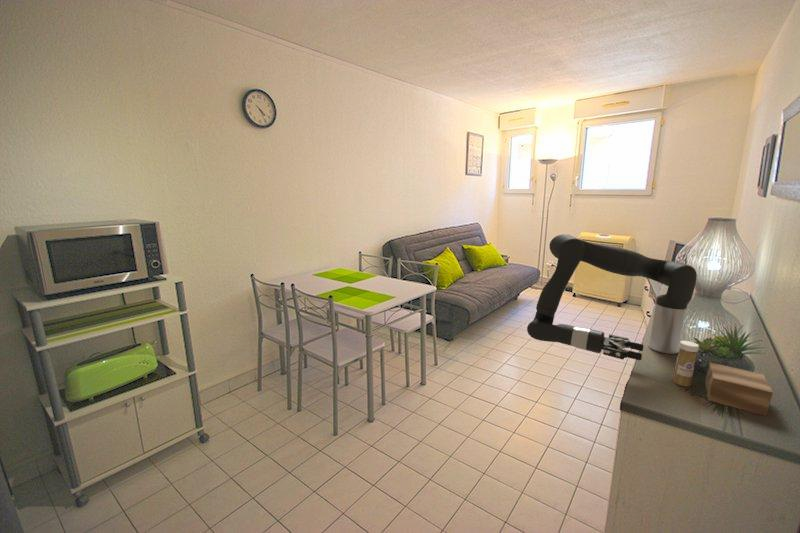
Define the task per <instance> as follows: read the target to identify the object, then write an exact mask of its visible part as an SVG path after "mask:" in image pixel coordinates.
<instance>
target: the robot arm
mask: <svg viewBox="0 0 800 533" xmlns="http://www.w3.org/2000/svg"><path fill="white" fill-rule="evenodd" d="M549 251H550V253H551V254H552V255H553V257H555V258H556V259H557V262H556V263H557V264H556V267H555V270H554V272H553V274H552V275H551V277H550V279H549V280H548V281H547V282H546V283H545V285H544V286H543V288H542V290H541V292H540V295H539V296H538V300H537V303H536V306H535V307H536V308H535V309H536V313H535V315H534V319H533V320H532V321H530V322H529V323H528V325H527V326H526V332H527V334H528V336H530V337H531V338H532V339H534V340H536V341H541V342H548V343H549V342H550V343H560V344H563V345H567V346H571V347H574V348H577V349H580V350H583V351H587V352H591V353H592V352H593V353H594V354H601V353H602V354H603V355H604V356H608V357H612V358H616V359H619V360H625V359H627V358H629V359H633V360H635V361H636V360H637V361H642V356H643V354H642V353H641V352H643V351H644V344H643V343H638V342H633V341H631V340H630V338H628V337H624V336H619V335H614V334H608V337H605V333H604V332H603V331H600V330H595V329H592V328H587V327H580V326H574V325H570V324H569V325H568V324H564V323H559V324H554V320H555V314H556V312H557V310H558V307H559V305H560V301H561V300H562V297H563V294H564V292H565V290H566V288H567V285H568V284H569V282H570V279H571V278H572V276H573V274H574V273H575V271H576V269H577V267H578V266H579V265H580V263H581V262H583V263H586V264H589V265H591V266H593V267H595V268H598V269H601V270H602V271H606V272H609V273H612V274H616V275H620V276H626V277H641V278H642V277H643V278H646V279H650V280H651V281H654V282H657V283H660V284H661V285H664V286H667V287H668V288H667V290H666V293H665V294H659V295H658V296H657V297H656V301H655V307H654V312H653V318H652V324H651V329H650V334H649V340H648V347H649V348H650V349H651V350H653V351H655V352H659V353H663V354H669V355H675V354H678V353H679V345H680V342H681V341H682V336H683V335H682V334H683V329H684V325H685V324H684V323H685V320H686V313H687V309H688V305H689V304H690V302H691V300H692V298H693V295H694V291H695V287H696V285H697V284H696V283H697V277H698V275H697V270H696V269H695V268H694V267H693V266H692V265H689V264H685V263H682V262H679V261H673V260H664V259H657V258H653V257H652V258H651V257H647V256H645V255H643V254H641V253H640V252H637V251H633V250H630V249H626V248H622V247H618V246H613V245H612V246H611V245H607V244H600V243H593V242H589V241H586V240H582V239H580V238H577V237H575V236H572V235H570V234H566V233H562V234H559V235H556V236H554V237H553V238H552V239H551V240H550V242H549ZM628 349H632V350H635V351H632V350H628ZM602 351H603V352H602ZM637 351H640V352H637Z"/></svg>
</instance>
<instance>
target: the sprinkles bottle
mask: <svg viewBox="0 0 800 533" xmlns="http://www.w3.org/2000/svg"><path fill="white" fill-rule="evenodd" d="M699 348H700V345H699V344H698V343H696V342H693V341H689V340H681V341H680V345H679V350H678V353H677V354H678V355H677V358H676V361H675V368H674V373H673V374H674V375H673V378H672V382H673V383H675V384H676V385H678V386H682V387H685V388H686V387H691V385H692V384H691V383H692V378H693V374H694V369H695V366H696V365H695V363H696V359H697V358H696V357H697V354H698V352H699Z"/></svg>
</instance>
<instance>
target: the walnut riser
mask: <svg viewBox="0 0 800 533" xmlns="http://www.w3.org/2000/svg"><path fill="white" fill-rule="evenodd" d="M704 384H705V389H706V395H707V396H706V397H707V400H708V402H709V401H710V402H713V403H717V404H721V405H724V406H728V407H732V408H735V409H739V410H743V411H746V412H750V413H754V414H757V415H761V416H765V417H767V416H768V411H769V407H770V404H771V401H772V397H773V394H774V392H773V390H772V388H771V387H770V385H769V382H768V380H767V379H766V377H765V375H764V374H763V373H758V372H755V371H751V370H746V369H742V368H738V367H733V366H729V365H728V366H727V365H723V364H719V363H715V362H709V363H708V367H707V371H706V376H705V381H704Z"/></svg>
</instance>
